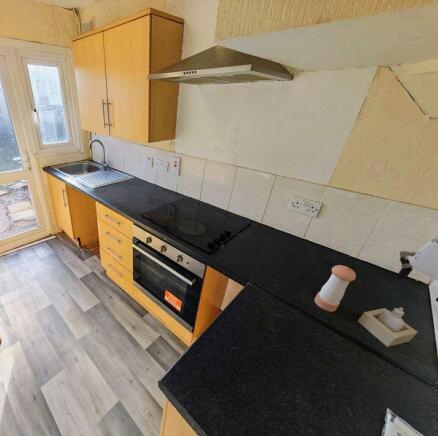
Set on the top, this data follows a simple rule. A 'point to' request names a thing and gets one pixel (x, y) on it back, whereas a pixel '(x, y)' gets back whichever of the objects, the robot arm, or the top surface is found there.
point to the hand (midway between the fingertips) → (419, 288)
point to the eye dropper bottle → (392, 319)
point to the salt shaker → (334, 288)
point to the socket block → (385, 329)
